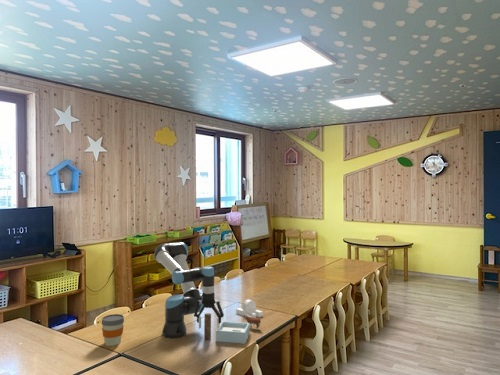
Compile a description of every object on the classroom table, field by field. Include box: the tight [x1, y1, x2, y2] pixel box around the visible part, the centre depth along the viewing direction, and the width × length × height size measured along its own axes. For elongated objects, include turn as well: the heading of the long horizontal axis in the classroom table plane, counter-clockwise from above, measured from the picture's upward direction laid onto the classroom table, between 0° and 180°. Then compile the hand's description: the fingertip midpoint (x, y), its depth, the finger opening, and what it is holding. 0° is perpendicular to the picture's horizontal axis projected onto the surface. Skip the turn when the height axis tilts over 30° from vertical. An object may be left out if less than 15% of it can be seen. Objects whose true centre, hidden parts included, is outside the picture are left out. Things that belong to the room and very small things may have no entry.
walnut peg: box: [203, 312, 212, 341], centre depth 225 cm, size 4×4×15 cm
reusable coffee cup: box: [101, 313, 125, 347], centre depth 218 cm, size 13×13×15 cm
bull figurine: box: [243, 314, 261, 331], centre depth 243 cm, size 4×13×8 cm, turn 51°
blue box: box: [215, 320, 250, 344], centre depth 227 cm, size 18×16×6 cm
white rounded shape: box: [235, 299, 264, 318], centre depth 269 cm, size 18×10×11 cm, turn 45°
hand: (209, 328), depth 224 cm, fingers open, 11 cm apart
